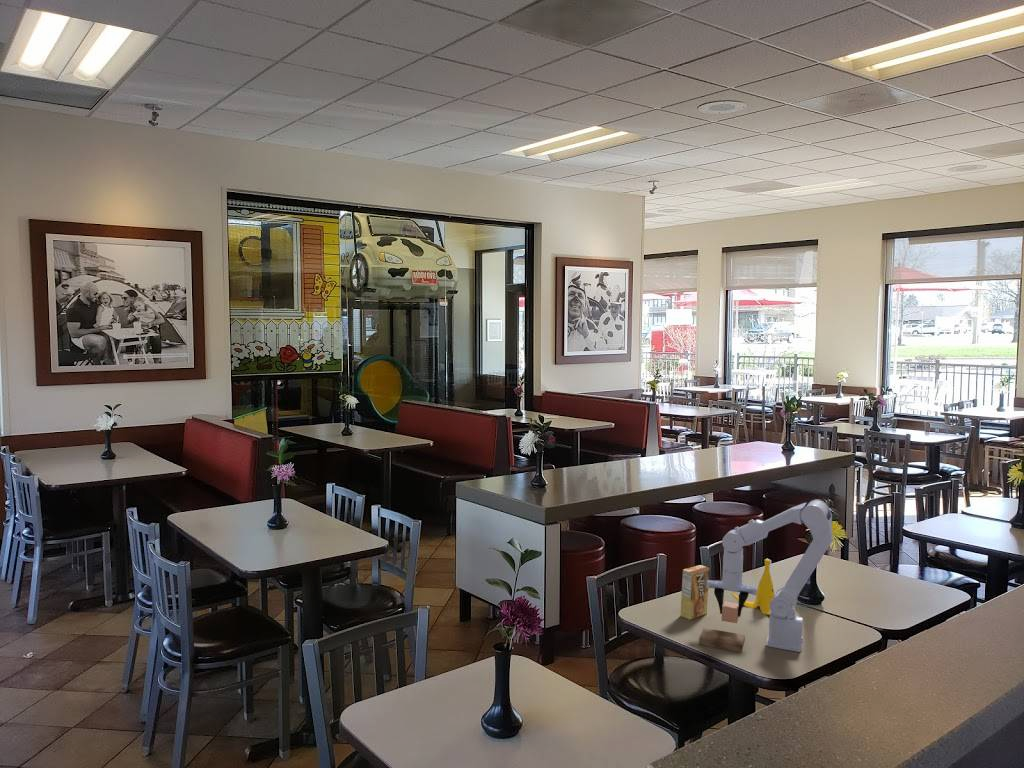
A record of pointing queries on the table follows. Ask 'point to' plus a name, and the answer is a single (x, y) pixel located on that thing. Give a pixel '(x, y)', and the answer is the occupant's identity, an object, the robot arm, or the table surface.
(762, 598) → the banana peel
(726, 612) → the terracotta cube
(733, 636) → the walnut board
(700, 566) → the candy box
